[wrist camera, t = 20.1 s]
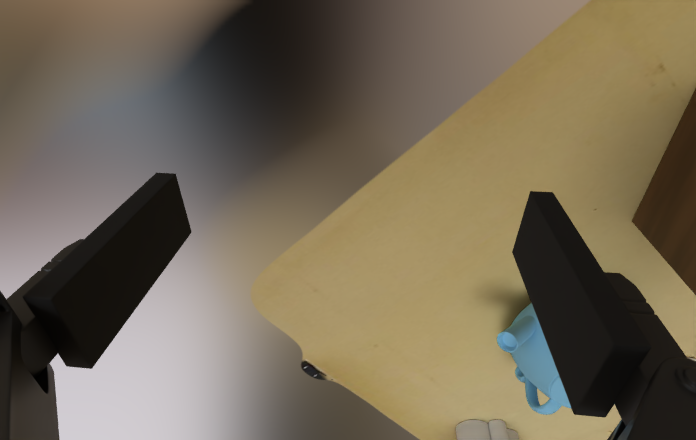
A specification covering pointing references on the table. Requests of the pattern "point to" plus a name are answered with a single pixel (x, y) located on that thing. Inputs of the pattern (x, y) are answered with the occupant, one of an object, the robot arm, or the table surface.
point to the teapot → (533, 361)
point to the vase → (484, 430)
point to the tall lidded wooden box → (674, 201)
